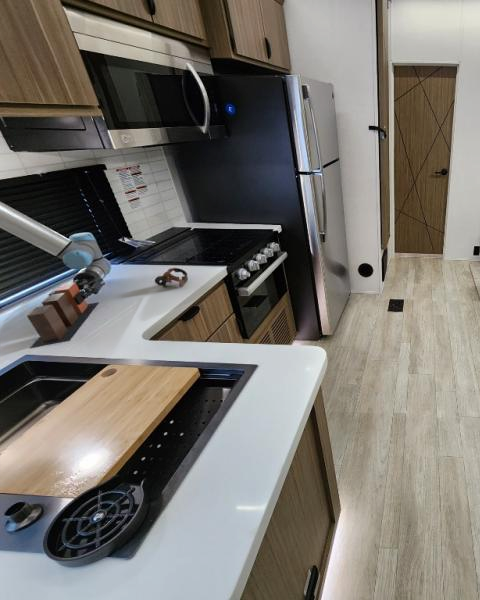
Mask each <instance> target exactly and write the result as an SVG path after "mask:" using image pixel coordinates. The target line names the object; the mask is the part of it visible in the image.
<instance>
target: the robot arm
mask: <svg viewBox="0 0 480 600" xmlns="http://www.w3.org/2000/svg"><path fill="white" fill-rule="evenodd" d="M0 229H2V230H3V231H6V232H8V233H10V234H12V235H14V236H16V237H18V238H20V239H21V240H23V241H26V242H28V243H29V244H32V245H33V246H35V247H37V248H39V249H41V250H43V251H45V252H47V253H49V254H51V255H52V256H55V257H57V258H58V259H61V260H62V262H63V264H64V265H65V266H66V267H68V268H69V269H72V270H76V271H77V270H79V271H78V272H77V273H76V274H75V275H74V276H73V279H72V281H71V282H70V283H76V285H77V286H78V288H79V290H80V292H79V293H78V295H77V296H76V297H75V298H74V299H75V301H76V303H77V305H80V304H81V303H82V302H83V301H84V300H85V301H86V299H88V298H89V297H91V296H92V295H98V294H99V293H100V290H101V289H102V288H103V287H104V286H105V285H106V282H105V281H104V279H105V278H106V277H107V275H109V274H110V272H111V270H112V268H113V266H112V263H111V261H109V260H108V259H107V258H105V257H104V255H103V253H102V251H101V248H100V247H99V244H98V242H97V239H96V238H95V236H94V234H92V232H79V233H74V234H71V235H70V236H69V238H67V237H65V236H64V235H62V234H60V233H59V232H57V231H55V230H53V229H52V228H50V227H48V226H47V225H46V226H45V225H44V224H42V223H40V222H38V221H37V220H35V219H33V218H31V217H29V216H28V215H25V214H24V213H22V212H20V211H18V210H17V209H15V208H13V207H11V206H10V205H8V204H6V203H4V202H2V201H0ZM61 284H62V283H60V284H58V287H59V286H60V285H61ZM58 287H57V288H58ZM57 288H55V289H54V290H53V291H51V292H50V293H49V294H48V296H49V295H53V294H56V293H55V292H54V291H55V290H56V289H57Z"/></svg>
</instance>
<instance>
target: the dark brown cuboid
mask: <svg viewBox="0 0 480 600" xmlns="http://www.w3.org/2000/svg"><path fill="white" fill-rule="evenodd" d="M26 317H27V319H28V321H29V322H30V323H31V325H32V327H33V328H34V329H35V331H36V332H37V334H38V336H39V337H41V339H42V340H43V342H44V343H45V342H51V341H56V340H60V339H61V338H62V337H63V335H64V334H65V333H66V332H67V331H68V330H67V328H66V327H65V325H64V323H63V322H62V320H61V318H60V317H59V315H58V313H57V312H56V310H55V308H54V307H53V305H47V306H43V305H42V306H36V307H35V308H34V309H32V311H30V313H28V314H27V315H26Z"/></svg>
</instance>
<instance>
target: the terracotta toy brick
mask: <svg viewBox="0 0 480 600" xmlns="http://www.w3.org/2000/svg"><path fill="white" fill-rule="evenodd" d="M60 284H61V285H60ZM60 284H59V285H60V286H59V285H58V287H57V289H56V288H55V289H56V290H55V289H54V290H55V291H54V290H53V291H54V292H55V293H56V294H60V293H65V294H66V296H67V298H68V299H69V301H70V303H71V305H72V306H73V308H74V310H75V312H76V313H77V314H81V313H83V311H84V310H85V309H86V308H87V307H88V305H87V304H88V303H87V301H86V299H85V300H84V301H83V302H82V303H81V304H80V305H77V303H76V301H75V299H74V298H75V297H76V296H77V295H78V293H79V292H80V291H81V290H79V288H78V286H77V285H76V283H71V282H68V283H60Z"/></svg>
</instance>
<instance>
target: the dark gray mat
mask: <svg viewBox="0 0 480 600" xmlns="http://www.w3.org/2000/svg"><path fill="white" fill-rule="evenodd" d="M99 304H100V301H99V302H92V303H87V305H88V307H87V308H86V309H85V310H84V311H83V313H81V314H77V315H78V317H79V318H78V319H77V320H76V321H75V322H74V324H73V325H72V326H67V327H66V328H67V330H68V331H67V332H66V333H65V334H64V335H63V337H62V338H61V339H60V340H56V341H51V342H45V343H44V342H43V340H42V339H41V337H40V336H39V337H38V338H37V339H36V341H35V342H34V343H32V345H31V346H30V347H29V349H35V348H39V347H45V346H50V345H51V346H52V345H55V344H61V343H67V342H70V341H71V340H72V339H73V337H74V336H75V335H76V334H77V332H78V331H79V329H80V328H81V327H82V326H83V325H84V323H85V322H86V321H87V319H88V318H89V317H90V315H91V314H92V313H93V311H94V310H95V309H96V308H97V306H99Z"/></svg>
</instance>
